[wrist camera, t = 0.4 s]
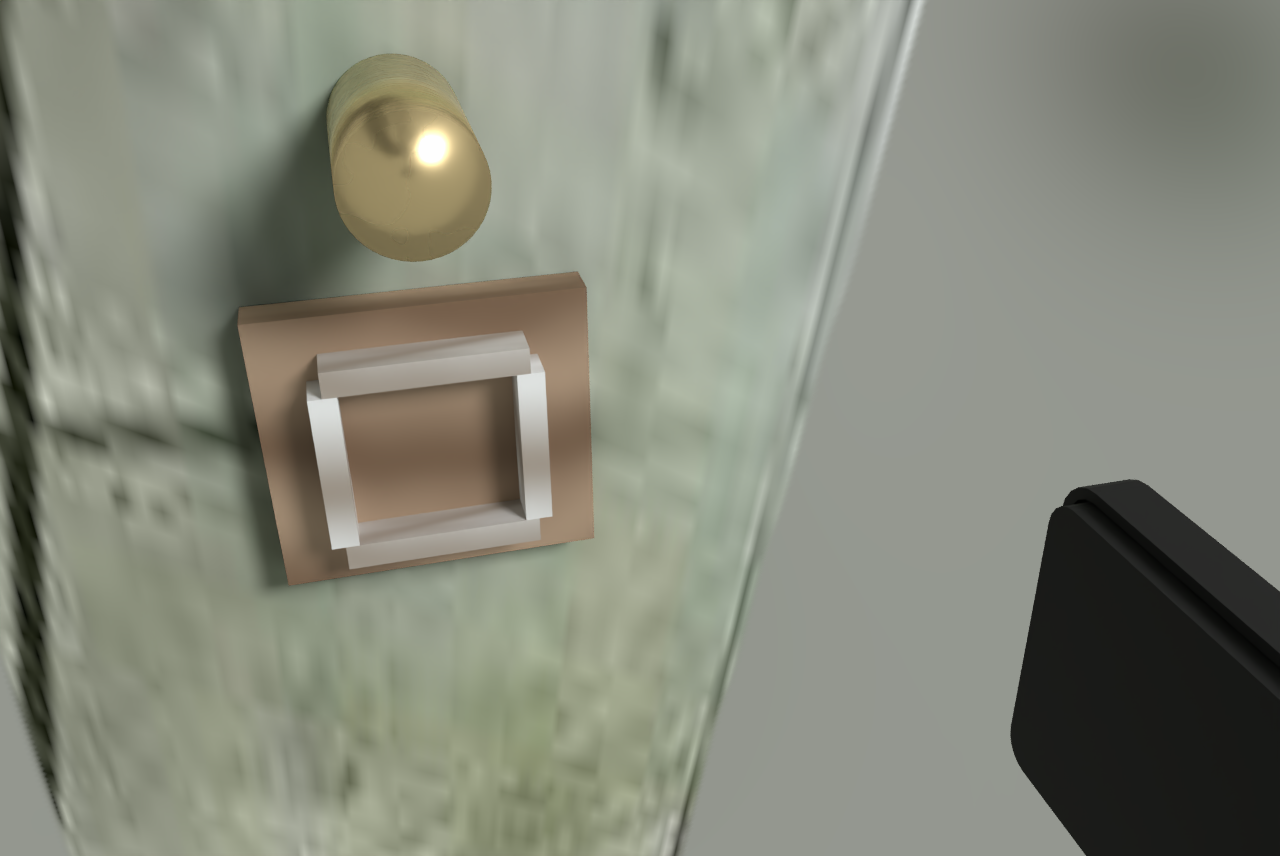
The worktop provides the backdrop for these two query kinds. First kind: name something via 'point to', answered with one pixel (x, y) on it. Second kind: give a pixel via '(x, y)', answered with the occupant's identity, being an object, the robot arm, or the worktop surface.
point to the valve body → (405, 160)
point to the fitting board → (423, 422)
